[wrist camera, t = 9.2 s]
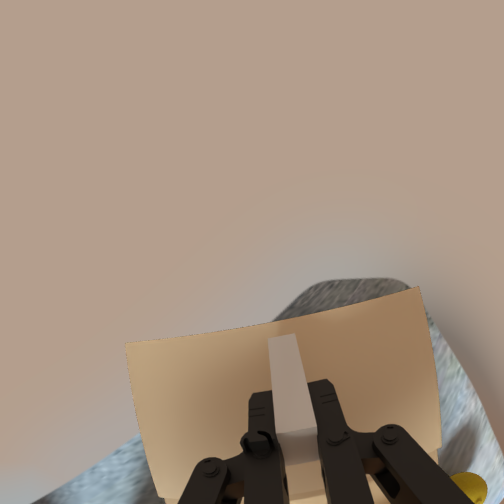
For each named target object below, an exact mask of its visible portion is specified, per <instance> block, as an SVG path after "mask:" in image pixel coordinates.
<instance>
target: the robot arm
mask: <svg viewBox="0 0 504 504" xmlns="http://www.w3.org/2000/svg"><path fill="white" fill-rule="evenodd" d="M268 349H269V360H270V371H271V382H272V390H269V391H263V392H256V393H252V395H251V397H250V399H249V401H248V410H249V411H248V432H246V433H245V434H244V435H243V436H242V437H241V440H240V445H241V447H242V449H243V452H241V453H240V454H239V455H237V456H234V457H232V458H229V459H226V460H222V459H220V458H217V457H208V458H205V459H203V460H201V461H200V462H198V463H197V465H196V466H195V468H194V470H193V472H192V474H191V476H190V478H189V481H188V483H187V485H186V487H185V489H184V491H183V493H182V495H181V497H180V499H179V501H178V503H177V504H241V501H242V498H243V497H244V504H290V501H289V491H288V481H287V475H286V471H285V466H290V465H296V464H302V463H307V462H312V461H317V460H320V464H321V475H322V477H323V482H324V488H325V493H326V498H327V504H374V500H373V497H372V493H371V490H370V487H369V484H368V480H367V477H366V474H370V476H371V477H372V479H373V480H374V481H375V483H376V484H377V486H378V487H379V488H380V490H381V491H382V493H383V494H384V495H385V497H386V498H387V499H388V501H389V502H390V503H391V504H475V503H474V502H473V501H472V500H471V499H470V498H469V497H468V496H467V495H466V494H465V493H464V492H463V491H462V490H461V489H460V488H459V487H458V486H457V485H456V483H455V482H454V481H453V480H452V479H451V478H450V477H449V476H448V475H447V474H446V473H445V472H444V471H443V470H442V469H441V468H440V466H439V465H438V464H437V463H436V462H435V461H434V460H433V459H432V458H431V457H430V456H429V455H428V454H427V453H426V452H425V450H424V449H423V448H422V447H421V446H420V445H419V444H418V443H417V442H416V441H415V440H414V439H413V438H412V437H411V435H410V434H409V433H408V432H407V431H406V430H405V429H404V428H403V427H401V426H400V425H396V424H387V425H384V426H381V427H380V428H379V429H378V430H377V431H376V432H366V433H364V432H357V431H354V430H352V429H351V428H350V427H349V426H348V425H347V423H346V420H345V417H344V414H343V411H342V408H341V405H340V402H339V400H338V397H337V394H336V391H335V388H334V385H333V384H332V383H331V382H330V381H329V380H328V379H327V378H326V379H322V380H318V381H313V382H309V383H307V381H306V377H305V373H304V369H303V365H302V361H301V357H300V353H299V348H298V344H297V340H296V336H295V333H293V334H288V335H283V336H278V337H272V338H268Z"/></svg>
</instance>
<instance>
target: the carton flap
mask: <svg viewBox="0 0 504 504" xmlns="http://www.w3.org/2000/svg"><path fill="white" fill-rule="evenodd" d="M293 333H295V336H296V340H297V344H298V348H299V353H300V357H301V361H302V365H303V369H304V373H305V377H306V381H307V383H309V382H313V381H318V380H322V379H326V378H327V379H328V380H329V381H330V382H331V383H332V384H333V385H334V388H335V391H336V394H337V397H338V400H339V402H340V405H341V408H342V411H343V414H344V417H345V420H346V423H347V425H348V426H349V427H350V428H351V429H352V430H354V431H357V432H364V433H366V432H376V431H377V430H378V429H379V428H380V427H381V426H384V425H387V424H396V425H400V426H401V427H403V428H404V429H405V430H406V431H407V432H408V433H409V434H410V435H411V437H412V438H413V439H414V440H415V441H416V442H417V443H418V444H419V445H420V446H421V447H422V448H423V449H424V450H425V452H426V453H427V454H428V453H430V452H432V451H434V450H436V449H438V448H440V447H442V442H441V417H440V403H439V393H438V383H437V375H436V368H435V361H434V355H433V349H432V343H431V338H430V332H429V327H428V323H427V318H426V313H425V309H424V305H423V301H422V297H421V293H420V289H419V286H417V287H414V288H411V289H407V290H404V291H400V292H397V293H393V294H390V295H386V296H382V297H379V298H375V299H371V300H367V301H364V302H360V303H356V304H352V305H348V306H344V307H340V308H335V309H331V310H327V311H322V312H318V313H313V314H309V315H304V316H300V317H295V318H290V319H285V320H280V321H275V322H270V323H264V324H259V325H253V326H248V327H242V328H236V329H230V330H224V331H217V332H211V333H204V334H197V335H190V336H182V337H175V338H167V339H158V340H148V341H139V342H130V343H125V348H126V356H127V363H128V370H129V377H130V383H131V389H132V395H133V401H134V406H135V411H136V416H137V420H138V424H139V429H140V434H141V438H142V442H143V446H144V450H145V454H146V457H147V461H148V464H149V468H150V471H151V475H152V478H153V481H154V484H155V487H156V490H157V493H158V496H159V497H162V498H172V499H180V497H181V495H182V493H183V491H184V489H185V487H186V485H187V483H188V481H189V478H190V476H191V474H192V472H193V470H194V468H195V466H196V465H197V463H198V462H200V461H201V460H203V459H205V458H208V457H217V458H220V459H222V460H226V459H229V458H232V457H234V456H237V455H239V454H240V453H241V452H243V449H242V447H241V445H240V440H241V437H242V436H243V435H244V434H245V433H246V432H248V411H249V410H248V401H249V399H250V397H251V395H252V393H256V392H263V391H269V390H272V382H271V371H270V360H269V349H268V338H272V337H278V336H283V335H288V334H293ZM285 471H286V475H287V481H288V491H289V495H292V494H298V493H304V492H310V491H315V490H320V489H324V482H323V477H322V475H321V464H320V460H317V461H312V462H307V463H302V464H296V465H290V466H285ZM369 476H370V474H366V477H369ZM242 500H244V497H243V498H242Z"/></svg>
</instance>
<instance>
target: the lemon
mask: <svg viewBox="0 0 504 504" xmlns="http://www.w3.org/2000/svg"><path fill="white" fill-rule="evenodd" d="M450 478H451V479H452V480H453V481H454V482H455V483H456V485H457V486H458V487H459V488H460V489H461V490H462V491H463V492H464V493H465V494H466V495H467V496H468V497H469V498H470V499H471V500H472V501H473V502H474V503H475V504H483V503H484V501H485V499H486V496H487V484H486V482H485V481H484V480H483V479H482V478H481V477H480V476H479V475H477V474H474V473H471V472H461V473H458V474H454V475H452V476H451V477H450Z"/></svg>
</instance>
